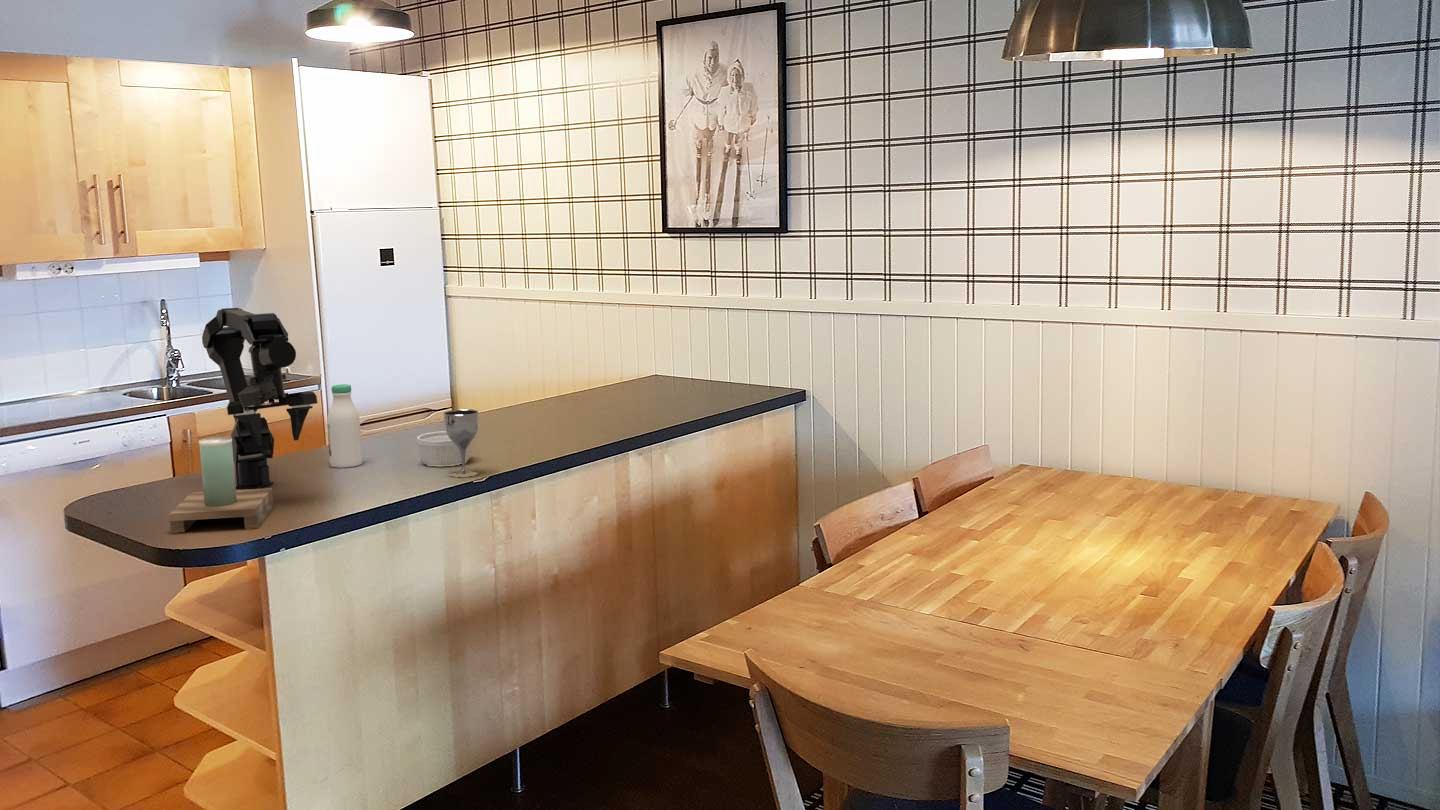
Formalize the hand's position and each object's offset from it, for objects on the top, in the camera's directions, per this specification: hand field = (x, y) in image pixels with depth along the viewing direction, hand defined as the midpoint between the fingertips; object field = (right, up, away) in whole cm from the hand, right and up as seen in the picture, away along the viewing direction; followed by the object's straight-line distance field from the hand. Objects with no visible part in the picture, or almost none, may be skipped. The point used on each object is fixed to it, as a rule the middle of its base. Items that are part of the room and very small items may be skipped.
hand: (277, 442), depth 252 cm
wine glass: (+35, -9, +24) cm, 44 cm away
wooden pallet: (-5, -15, -14) cm, 22 cm away
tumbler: (-5, -12, -17) cm, 21 cm away
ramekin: (+28, -7, +38) cm, 47 cm away
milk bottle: (+3, -7, +36) cm, 37 cm away
